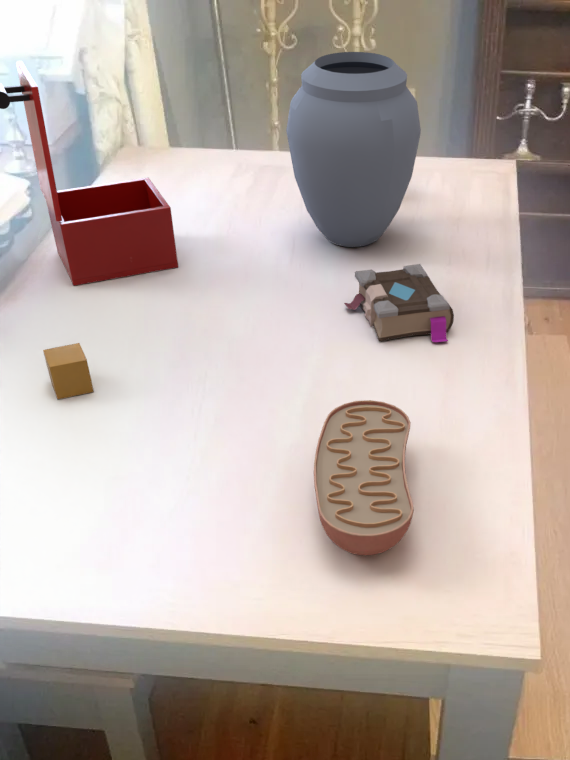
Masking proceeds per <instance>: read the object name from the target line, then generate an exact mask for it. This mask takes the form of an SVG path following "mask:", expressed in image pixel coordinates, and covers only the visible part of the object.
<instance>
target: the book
mask: <svg viewBox="0 0 570 760" xmlns="http://www.w3.org/2000/svg"><path fill="white" fill-rule="evenodd" d="M354 278H355V279H356V280H357V282H358V293H357V294H355V296H354V297H353V300H352V301H350V302H343V304H344V305H345V306H346V308H347V309H348V310H353V311H354V310H357V309H358V308H359V307H360V308H361V309H362V311H363V312H364V315H365V316H364V317H365V318H366V320H368V323H369V325H370V328H371V327H373V329H374V332H375V334H376V338H377V341H378V342H379V343H380V342H384V341H389V340H395V339H400V338H406V337H407V338H408V337H410V336H411V337H413V336H423V335H424V336H425V335H430V340H431V342H432V343H443V342H449V339H447V334H448V332H449V331H450V330H451V328H452V326H453V324H454V319H455V318H454V317H455V314H454V309H453V307H452V306H451V305H450V303H449V302H448V300H447V299H446V298H444V296H443V295H442V294H441V293H440V292H439V290H438V289H437V287H436V286H435V285H434V283H433V281H432V280H431V278H430V276H429V275H428V273H427V272H426V271H425V269H424V267H423V265H422V264H421V263H415V264H408V265H404V266H403V267H402V268H401V269H396V270H395V269H394V270H388V271H378V272H376V271H375V270H373V269H362V270H356V271H354Z"/></svg>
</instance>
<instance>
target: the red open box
mask: <svg viewBox="0 0 570 760" xmlns="http://www.w3.org/2000/svg"><path fill="white" fill-rule="evenodd" d="M57 195H58V200H59V206H60V211H61V217H62V221H56V219H55V217H54V215H53V213H52V211H51V209H50V207H49V205H48V203H47V201H46V200H45V203H46V206H47V212H48V216H49V220H50V224H51V229H52V234H53V238H54V243H55V247H56V251H57V254H58V255H59V258H60V260H61V262H62V265H63V266H64V268H65V270H66V272H67V276H68V277H69V279H70V281H71V284H72V285H73V286H74V287H75V286H80V285H86V284H91V283H97V282H102V281H103V282H104V281H109V280H114V279H119V278H125V277H131V276H138V275H142V274H148V273H149V274H150V273H154V272H160V271H164V270H172V269H176V268H177V269H178V268H179V263H178V262H179V261H178V254H177V247H176V246H177V245H176V238H175V231H174V224H173V216H172V208H171V206H170V205H169V203H168V202H167V200H166V199H165V198H164V196H163V195H162V193H161V192H160V191H159V189H158V188H157V187H156V186H155V184H154V183H153V181H152V180H151V178H150V177H148V176H147V177H141V178H135V179H134V178H133V179H127V180H120V181H113V182H108V183H107V182H106V183H100V184H93V185H87V186H79V187H74V188H73V187H72V188H66V189H59V190H57Z"/></svg>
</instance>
